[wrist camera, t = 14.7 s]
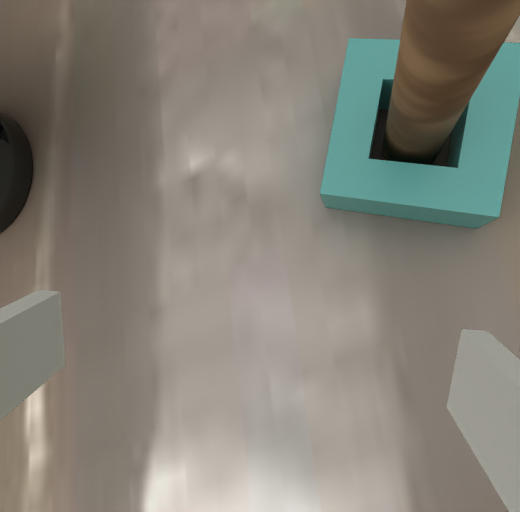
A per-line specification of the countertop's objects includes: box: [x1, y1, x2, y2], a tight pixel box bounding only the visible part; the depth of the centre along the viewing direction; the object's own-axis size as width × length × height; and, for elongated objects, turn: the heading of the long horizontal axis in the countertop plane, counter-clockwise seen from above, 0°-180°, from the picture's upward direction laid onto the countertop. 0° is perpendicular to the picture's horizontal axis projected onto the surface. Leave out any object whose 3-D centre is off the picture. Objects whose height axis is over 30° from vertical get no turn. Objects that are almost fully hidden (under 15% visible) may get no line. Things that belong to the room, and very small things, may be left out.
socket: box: [320, 38, 520, 229], centre depth 30 cm, size 12×12×5 cm
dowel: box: [382, 0, 520, 165], centre depth 23 cm, size 4×4×20 cm
